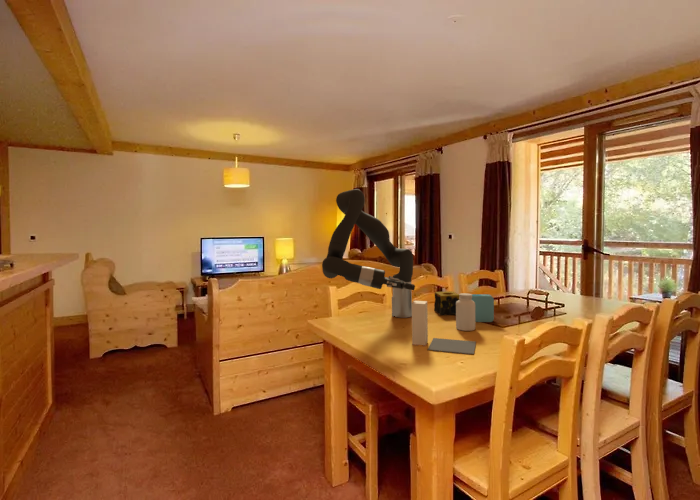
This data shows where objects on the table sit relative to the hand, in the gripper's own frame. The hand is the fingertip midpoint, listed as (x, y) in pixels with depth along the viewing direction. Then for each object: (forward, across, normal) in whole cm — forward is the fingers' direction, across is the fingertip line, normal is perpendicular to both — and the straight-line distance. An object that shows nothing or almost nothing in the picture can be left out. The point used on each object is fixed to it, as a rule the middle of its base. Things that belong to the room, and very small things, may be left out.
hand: (414, 287), depth 151 cm
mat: (+18, +8, -17) cm, 26 cm away
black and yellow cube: (+25, -44, -13) cm, 52 cm away
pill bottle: (+28, -15, -14) cm, 34 cm away
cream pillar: (+7, +4, -20) cm, 21 cm away
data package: (+36, -28, -11) cm, 47 cm away
